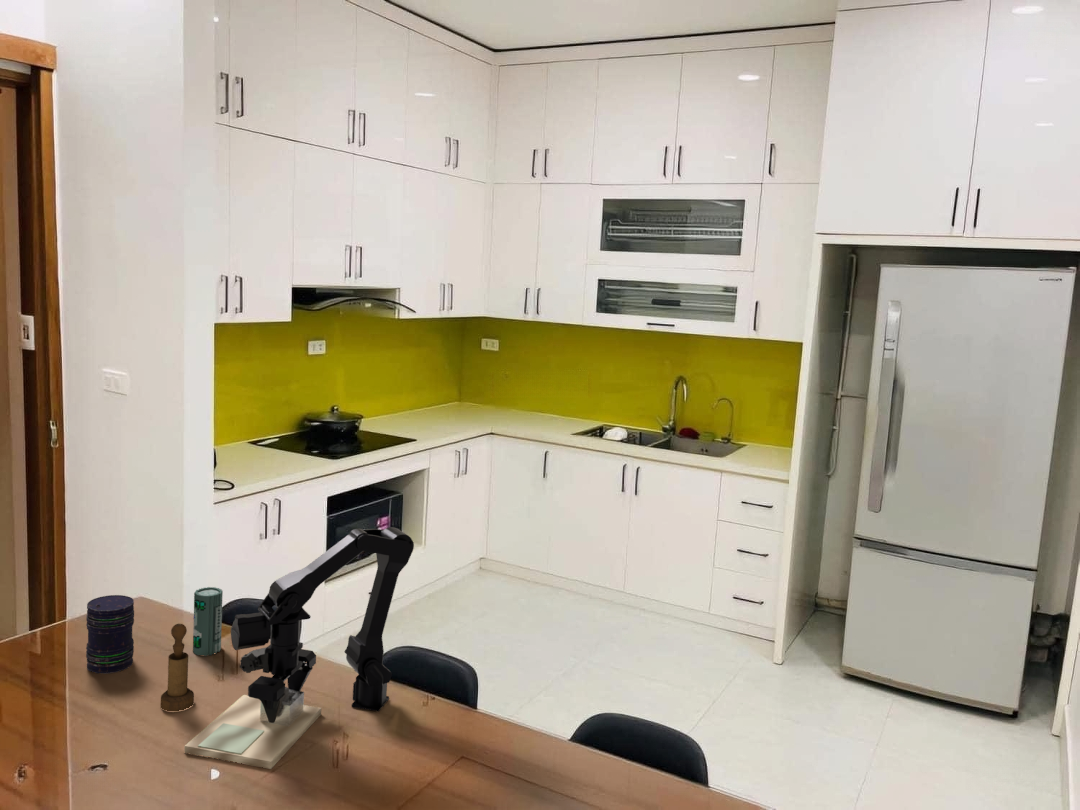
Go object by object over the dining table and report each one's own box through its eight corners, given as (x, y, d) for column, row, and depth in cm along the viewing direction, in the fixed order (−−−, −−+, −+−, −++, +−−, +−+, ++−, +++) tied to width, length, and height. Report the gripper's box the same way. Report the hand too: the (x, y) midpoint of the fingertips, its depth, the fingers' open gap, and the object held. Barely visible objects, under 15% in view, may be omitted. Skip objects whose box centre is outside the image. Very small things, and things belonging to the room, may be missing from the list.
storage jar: (119, 651, 207) (120, 591, 205) (142, 664, 201) (143, 603, 199) (77, 664, 198) (77, 602, 196) (99, 678, 193) (100, 614, 191)
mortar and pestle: (181, 715, 180) (183, 633, 177) (153, 709, 181) (155, 628, 179) (200, 700, 186) (201, 621, 184) (173, 695, 188) (174, 616, 185)
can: (197, 644, 213) (199, 586, 211) (222, 645, 214) (224, 587, 212) (190, 655, 207) (191, 595, 205) (216, 656, 208) (218, 596, 206)
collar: (303, 711, 182) (304, 691, 181) (289, 726, 176) (289, 705, 175) (275, 707, 183) (275, 687, 182) (260, 721, 177) (260, 700, 176)
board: (321, 714, 184) (322, 681, 183) (270, 769, 163) (272, 731, 162) (243, 701, 187) (244, 668, 186) (184, 753, 166) (185, 716, 165)
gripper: (270, 618, 188) (268, 686, 190) (224, 653, 169) (222, 727, 172) (318, 626, 186) (315, 694, 188) (276, 661, 167) (274, 736, 170)
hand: (282, 712), depth 179 cm, fingers open, 9 cm apart
